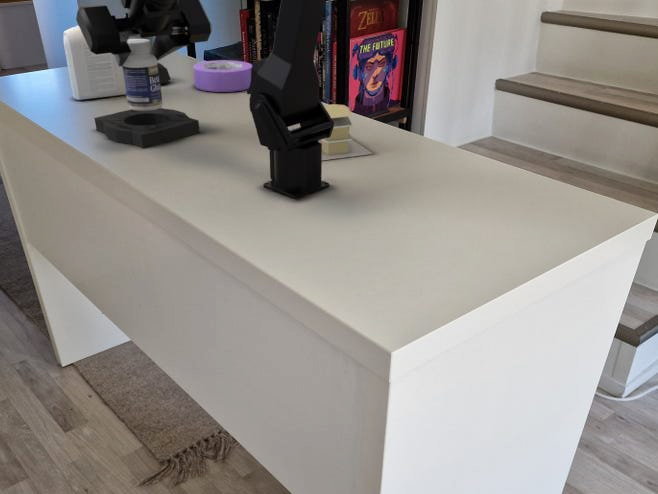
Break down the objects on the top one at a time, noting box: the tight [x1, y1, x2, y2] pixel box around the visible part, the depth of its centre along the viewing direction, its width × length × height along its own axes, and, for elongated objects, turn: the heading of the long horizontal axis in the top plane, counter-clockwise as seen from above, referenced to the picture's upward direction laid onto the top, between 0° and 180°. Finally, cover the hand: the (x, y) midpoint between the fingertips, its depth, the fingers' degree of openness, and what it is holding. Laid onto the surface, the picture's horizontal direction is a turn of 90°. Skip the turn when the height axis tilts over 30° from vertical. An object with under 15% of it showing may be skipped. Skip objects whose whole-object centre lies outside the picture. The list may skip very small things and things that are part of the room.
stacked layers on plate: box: [318, 103, 373, 161], centre depth 101 cm, size 10×9×6 cm
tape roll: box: [192, 59, 253, 93], centre depth 133 cm, size 12×12×4 cm
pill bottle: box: [122, 38, 163, 111], centre depth 104 cm, size 5×5×10 cm
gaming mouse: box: [157, 61, 172, 85], centre depth 137 cm, size 6×15×4 cm, turn 42°
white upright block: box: [62, 25, 127, 101], centre depth 123 cm, size 10×4×12 cm, turn 123°
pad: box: [94, 107, 201, 149], centre depth 108 cm, size 13×13×2 cm
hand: (136, 61), depth 104 cm, fingers closed on pill bottle, 5 cm apart
